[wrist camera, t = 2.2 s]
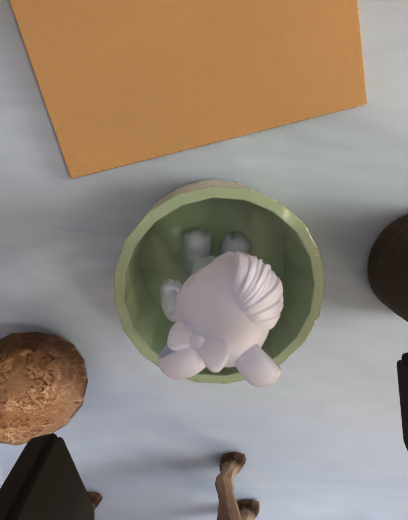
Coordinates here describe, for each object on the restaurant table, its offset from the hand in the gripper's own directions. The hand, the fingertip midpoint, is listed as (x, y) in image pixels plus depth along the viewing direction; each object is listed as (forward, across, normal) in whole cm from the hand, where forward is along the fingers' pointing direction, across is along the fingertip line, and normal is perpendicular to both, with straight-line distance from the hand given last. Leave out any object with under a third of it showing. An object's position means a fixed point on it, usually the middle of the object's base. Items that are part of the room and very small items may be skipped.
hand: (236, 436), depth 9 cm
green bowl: (+16, 0, 0) cm, 16 cm away
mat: (+16, -2, -14) cm, 22 cm away
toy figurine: (+16, 0, 0) cm, 16 cm away
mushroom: (+17, +15, +5) cm, 23 cm away
